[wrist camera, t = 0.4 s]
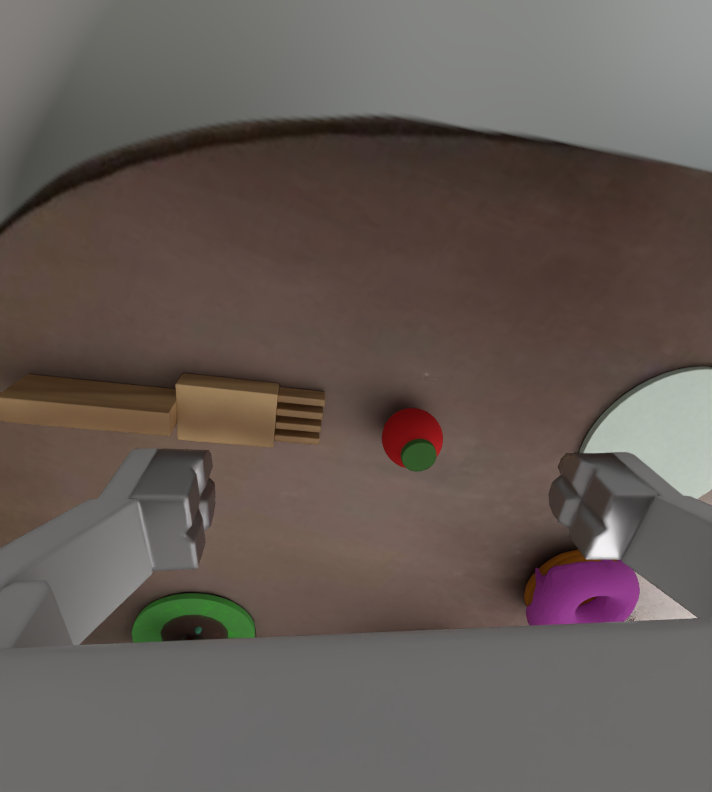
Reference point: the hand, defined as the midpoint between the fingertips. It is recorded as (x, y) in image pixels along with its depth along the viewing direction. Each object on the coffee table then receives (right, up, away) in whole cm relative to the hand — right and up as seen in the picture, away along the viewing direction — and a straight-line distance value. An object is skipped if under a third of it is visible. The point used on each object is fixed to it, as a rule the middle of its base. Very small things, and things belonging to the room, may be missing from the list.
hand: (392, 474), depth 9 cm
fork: (-12, +2, +17) cm, 21 cm away
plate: (+23, -2, +23) cm, 33 cm away
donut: (+19, -15, +29) cm, 38 cm away
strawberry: (+3, -1, +18) cm, 18 cm away
